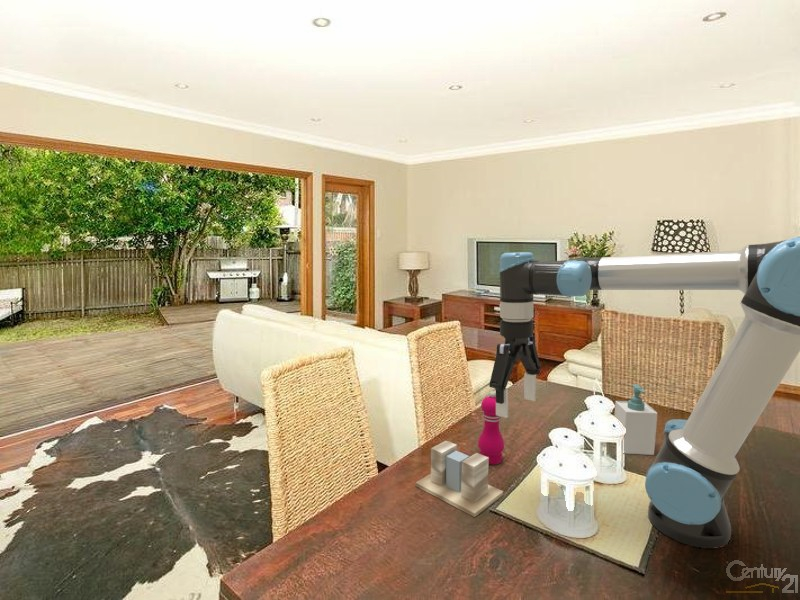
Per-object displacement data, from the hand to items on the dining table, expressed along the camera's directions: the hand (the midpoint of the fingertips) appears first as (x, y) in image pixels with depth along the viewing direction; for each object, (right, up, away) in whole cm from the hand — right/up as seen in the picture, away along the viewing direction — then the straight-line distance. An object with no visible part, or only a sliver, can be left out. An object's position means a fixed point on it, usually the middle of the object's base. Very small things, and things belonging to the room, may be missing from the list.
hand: (516, 407), depth 106 cm
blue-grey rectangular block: (-13, -21, +5) cm, 25 cm away
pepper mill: (-2, -20, +21) cm, 29 cm away
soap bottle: (+42, -19, +27) cm, 53 cm away
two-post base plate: (-13, -22, +5) cm, 26 cm away
